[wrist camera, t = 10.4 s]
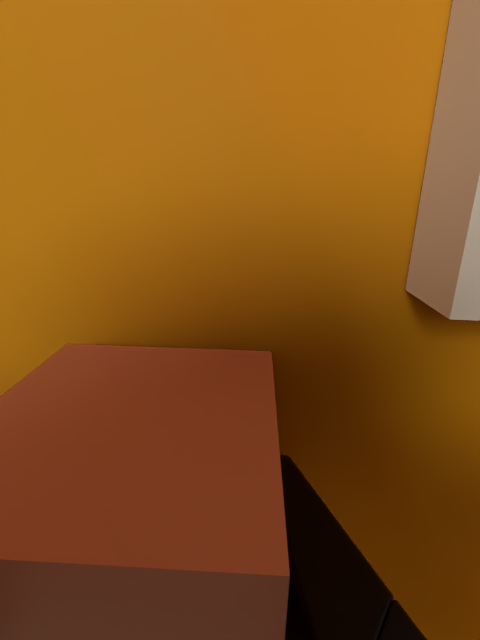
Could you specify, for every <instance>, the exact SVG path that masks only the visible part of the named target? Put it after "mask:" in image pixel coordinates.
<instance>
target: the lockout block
mask: <svg viewBox="0 0 480 640" xmlns="http://www.w3.org/2000/svg"><path fill="white" fill-rule="evenodd" d="M289 581H290V572H289V559H288V547H287V535H286V522H285V510H284V498H283V485H282V473H281V461H280V448H279V436H278V424H277V411H276V399H275V387H274V375H273V362H272V351H254V350H227V349H200V348H173V347H146V346H119V345H92V344H66V345H65V346H64V347H63V348H61V349H60V350H59V351H58V352H56V353H55V354H54V355H52V356H51V357H50V358H49V359H47V360H46V361H45V362H44V363H42V364H41V365H40V366H39V367H37V368H36V369H35V370H34V371H32V372H31V373H30V374H29V375H27V376H26V377H25V378H23V379H22V380H21V381H20V382H18V383H17V384H16V385H15V386H13V387H12V388H11V389H10V390H8V391H7V392H6V393H5V394H3V395H2V396H1V397H0V640H285V628H286V617H287V605H288V593H289Z"/></svg>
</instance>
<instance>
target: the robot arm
mask: <svg viewBox="0 0 480 640" xmlns="http://www.w3.org/2000/svg"><path fill="white" fill-rule="evenodd" d="M280 461H281V473H282V485H283V498H284V510H285V522H286V535H287V547H288V559H289V572H290V581H289V593H288V605H287V617H286V628H285V640H427V639H426V638H425V637H424V635H423V634H422V633H421V631H420V630H419V629H418V628H417V626H416V625H415V624H414V622H413V621H412V620H411V618H410V617H409V616H408V614H407V613H406V612H405V610H404V609H403V608H402V606H401V605H400V604H399V602H398V601H397V600H393V595H392V593H391V592H390V591H389V589H388V588H387V587H386V585H385V584H384V582H383V581H382V580H381V578H380V577H379V576H378V574H377V573H376V572H375V570H374V569H373V568H372V566H371V565H370V564H369V562H368V561H367V560H366V558H365V557H364V556H363V554H362V553H361V552H360V550H359V549H358V548H357V546H356V545H355V544H354V542H353V541H352V540H351V538H350V537H349V536H348V534H347V533H346V532H345V530H344V529H343V528H342V526H341V525H340V524H339V522H338V521H337V520H336V518H335V517H334V516H333V514H332V513H331V512H330V510H329V509H328V508H327V506H326V505H325V504H324V502H323V501H322V499H321V498H320V497H319V495H318V494H317V493H316V491H315V490H314V489H313V487H312V486H311V485H310V483H309V482H308V481H307V479H306V478H305V477H304V475H303V474H302V473H301V471H300V470H299V469H298V467H297V466H296V465H295V463H294V462H293V461H292V459H291V458H290V457H289V456H288V455H280Z"/></svg>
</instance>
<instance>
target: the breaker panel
mask: <svg viewBox="0 0 480 640" xmlns="http://www.w3.org/2000/svg"><path fill="white" fill-rule="evenodd" d="M405 290H406V291H408V292H409V293H411V294H412V295H414V296H415V297H417V298H418V299H420V300H421V301H423V302H424V303H426V304H427V305H429V306H430V307H432V308H433V309H434V310H436V311H437V312H439V313H440V314H442V315H443V316H445V317H446V318H448V319H449V320H477V321H480V0H453V2H452V8H451V14H450V20H449V26H448V32H447V38H446V44H445V51H444V57H443V63H442V69H441V75H440V81H439V87H438V93H437V99H436V105H435V112H434V118H433V124H432V130H431V136H430V142H429V148H428V154H427V160H426V167H425V173H424V179H423V185H422V191H421V197H420V203H419V209H418V215H417V222H416V228H415V234H414V240H413V246H412V252H411V258H410V264H409V270H408V276H407V283H406V289H405Z"/></svg>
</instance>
